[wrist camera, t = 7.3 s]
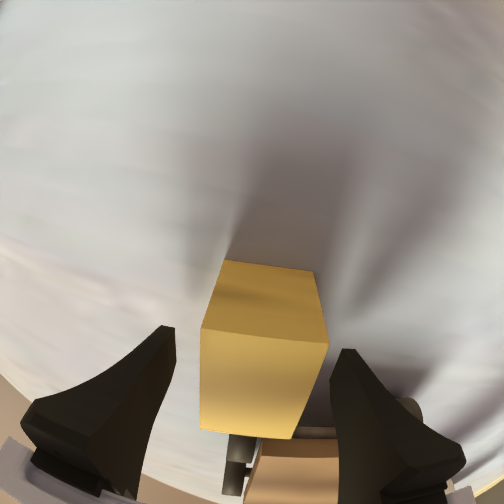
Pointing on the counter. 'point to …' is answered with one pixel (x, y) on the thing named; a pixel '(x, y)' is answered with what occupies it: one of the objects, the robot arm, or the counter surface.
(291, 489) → the trolley
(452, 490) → the container
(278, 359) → the block
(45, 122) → the counter surface
